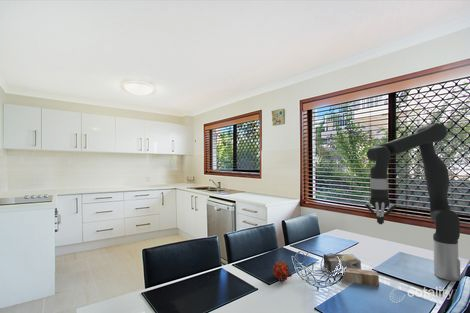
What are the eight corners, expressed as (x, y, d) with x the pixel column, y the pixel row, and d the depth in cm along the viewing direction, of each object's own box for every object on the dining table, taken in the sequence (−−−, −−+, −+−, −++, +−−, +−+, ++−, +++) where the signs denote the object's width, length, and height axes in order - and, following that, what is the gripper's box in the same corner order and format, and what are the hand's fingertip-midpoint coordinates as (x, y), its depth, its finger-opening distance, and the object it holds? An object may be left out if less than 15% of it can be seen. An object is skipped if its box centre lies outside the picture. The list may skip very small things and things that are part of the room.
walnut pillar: (378, 275, 112) (342, 271, 116) (378, 287, 112) (343, 282, 116) (376, 271, 116) (341, 267, 121) (376, 281, 116) (342, 277, 121)
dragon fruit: (279, 275, 127) (286, 290, 115) (266, 266, 126) (271, 281, 114) (289, 262, 126) (297, 276, 114) (276, 254, 125) (282, 267, 113)
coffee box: (352, 265, 134) (323, 265, 134) (352, 253, 134) (323, 254, 134) (361, 273, 125) (329, 273, 125) (361, 260, 125) (329, 260, 125)
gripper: (394, 187, 118) (396, 223, 118) (363, 186, 125) (364, 220, 124) (396, 189, 112) (397, 227, 111) (363, 188, 118) (364, 224, 118)
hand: (380, 223), depth 118 cm, fingers closed
